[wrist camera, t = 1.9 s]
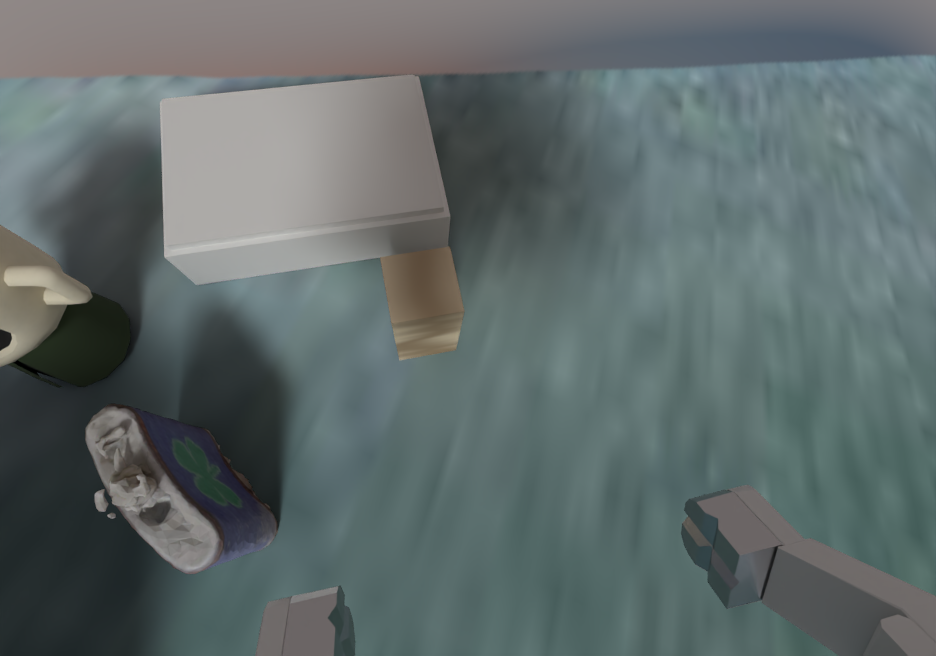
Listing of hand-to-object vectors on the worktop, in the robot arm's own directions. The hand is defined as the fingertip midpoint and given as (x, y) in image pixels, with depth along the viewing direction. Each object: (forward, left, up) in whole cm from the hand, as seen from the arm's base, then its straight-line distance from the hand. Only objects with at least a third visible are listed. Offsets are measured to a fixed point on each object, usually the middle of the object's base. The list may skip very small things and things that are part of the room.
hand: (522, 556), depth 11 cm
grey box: (-6, +24, -21) cm, 33 cm away
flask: (-14, +4, -21) cm, 26 cm away
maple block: (0, +12, -21) cm, 24 cm away
